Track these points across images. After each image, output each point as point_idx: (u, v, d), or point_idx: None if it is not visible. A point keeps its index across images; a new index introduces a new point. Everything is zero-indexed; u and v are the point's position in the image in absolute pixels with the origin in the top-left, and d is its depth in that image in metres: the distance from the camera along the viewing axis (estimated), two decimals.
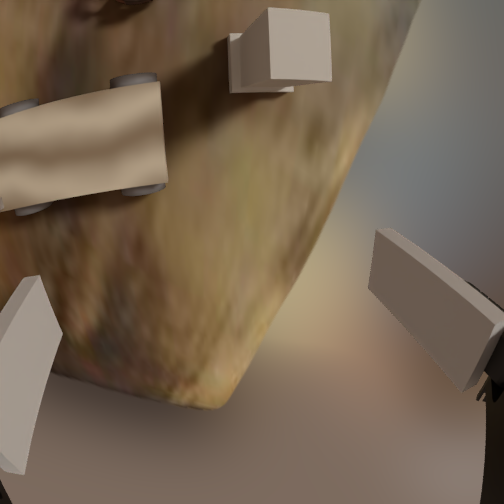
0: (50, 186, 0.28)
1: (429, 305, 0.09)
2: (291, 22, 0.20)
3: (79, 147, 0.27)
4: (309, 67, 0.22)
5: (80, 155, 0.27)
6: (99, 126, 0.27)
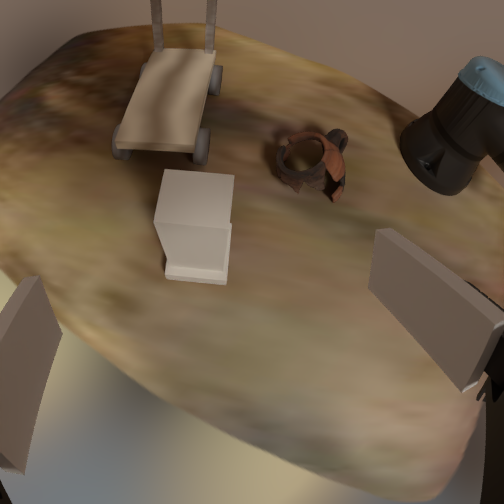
0: (150, 77, 0.40)
1: (429, 305, 0.09)
2: (218, 191, 0.26)
3: (166, 95, 0.39)
4: (169, 201, 0.26)
5: (160, 95, 0.39)
6: (175, 107, 0.38)
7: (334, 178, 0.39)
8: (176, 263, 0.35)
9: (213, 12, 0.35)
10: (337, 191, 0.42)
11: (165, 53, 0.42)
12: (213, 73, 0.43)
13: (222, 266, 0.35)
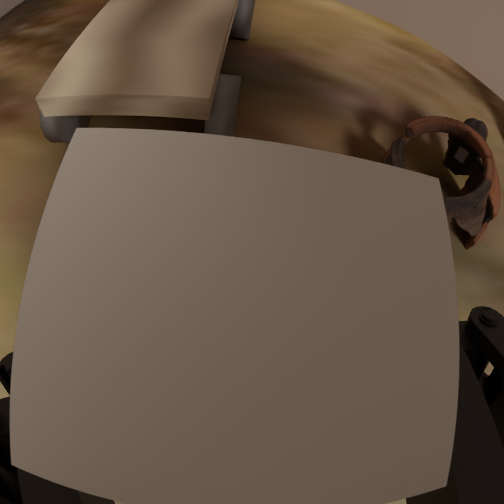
0: None
1: None
2: (394, 271, 0.04)
3: (154, 16, 0.17)
4: (83, 342, 0.03)
5: (143, 16, 0.17)
6: (170, 32, 0.16)
7: (495, 213, 0.16)
8: None
9: None
10: (481, 232, 0.19)
11: None
12: None
13: None
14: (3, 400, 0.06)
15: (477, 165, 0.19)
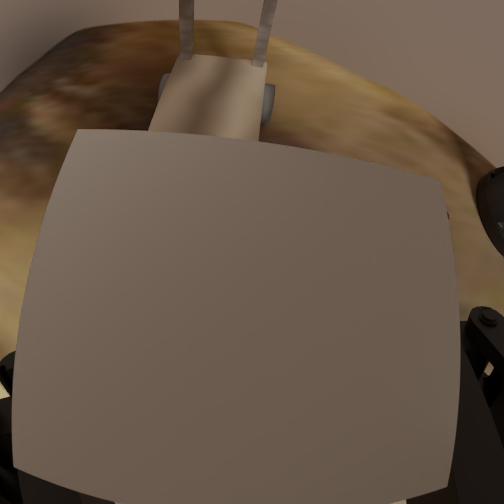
0: (175, 97, 0.28)
1: None
2: (396, 273, 0.04)
3: (201, 129, 0.27)
4: (85, 345, 0.03)
5: (192, 128, 0.27)
6: None
7: None
8: None
9: (272, 8, 0.24)
10: None
11: (195, 62, 0.31)
12: (264, 96, 0.32)
13: None
14: (3, 400, 0.06)
15: None
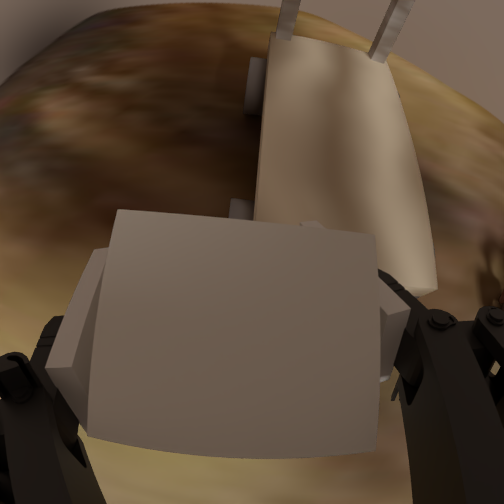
0: (289, 90, 0.19)
1: None
2: (332, 305, 0.07)
3: (344, 142, 0.18)
4: (139, 354, 0.06)
5: (331, 139, 0.18)
6: (375, 180, 0.17)
7: None
8: None
9: None
10: None
11: (298, 44, 0.21)
12: None
13: None
14: None
15: None
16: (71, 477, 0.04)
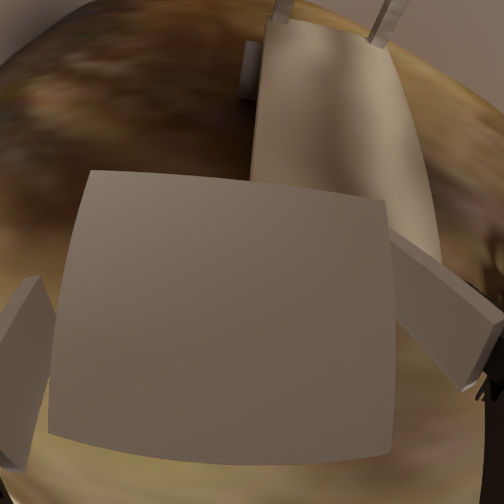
0: (286, 71, 0.18)
1: (428, 305, 0.09)
2: (338, 279, 0.06)
3: (344, 124, 0.17)
4: (106, 335, 0.05)
5: (330, 121, 0.17)
6: (376, 163, 0.16)
7: None
8: None
9: None
10: None
11: (296, 28, 0.20)
12: None
13: None
14: None
15: None
16: None
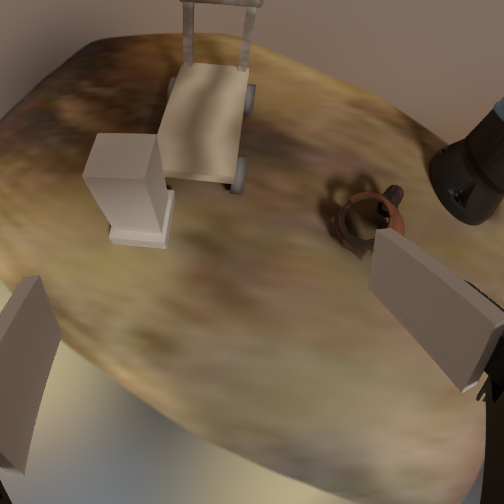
0: (181, 95, 0.39)
1: (429, 305, 0.09)
2: (140, 148, 0.27)
3: (201, 117, 0.38)
4: (97, 158, 0.26)
5: (194, 116, 0.38)
6: (211, 132, 0.37)
7: None
8: (118, 225, 0.35)
9: (251, 28, 0.34)
10: None
11: (195, 68, 0.41)
12: (247, 93, 0.43)
13: (158, 227, 0.35)
14: None
15: None
16: None
